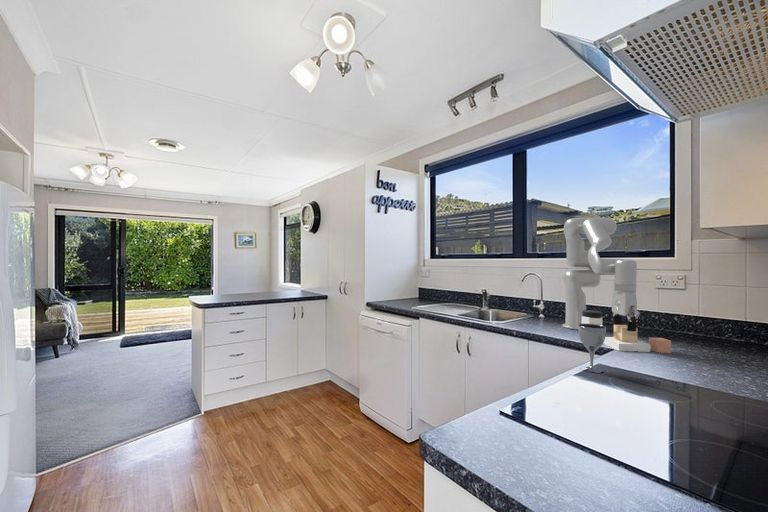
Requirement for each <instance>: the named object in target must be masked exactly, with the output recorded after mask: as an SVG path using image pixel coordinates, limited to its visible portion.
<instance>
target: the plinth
mask: <svg viewBox="0 0 768 512" xmlns="http://www.w3.org/2000/svg"><path fill="white" fill-rule="evenodd" d="M603 345H605V346H607V347H609V346H610V347H609V348H611V347H612V348H611V349H613V348H614V350H616V351H618V352H634V351H638V353H640V352H641V353H650V352H651V350H650V344H649V343H647V342H644V341H641V340H639V339H638V342H621V341H618V340H616V339H614V336H605V340H604V343H603Z"/></svg>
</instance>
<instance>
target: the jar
mask: <svg viewBox="0 0 768 512" xmlns="http://www.w3.org/2000/svg"><path fill="white" fill-rule="evenodd" d="M584 323H585V324H597V325H602V326H603V312H602V311H599V310H593V309H586V310H583V311H582V324H584Z"/></svg>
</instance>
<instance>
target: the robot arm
mask: <svg viewBox="0 0 768 512" xmlns="http://www.w3.org/2000/svg"><path fill="white" fill-rule="evenodd" d="M617 228H618V226H617V223H616V220H614V219H613V218H612V217H611V218H610V217H573V218H569V219H567V220H566V221H565V223H564V225H563V235H564V238H565V242H566V243H565V244H566V263H567V266H568V267H571V268H585V269H570V270H567V271H565V273H564V275H563V282H564V287H565V289H564V290H565V319H564V321H565V323H562V328H565V329H570V330H578V324H582V311H583V310H587V307H586V306H587V300H586V299H587V298H586V297H587V296H586V294H585V292H584V290H583V289H582V288H596V287H598V286H599V285H600V283H601V276H614V290H613V293H612V301H611V302H612V303H611V312H612V318H613V323H612V324H613V326H614V325H623V323H622V322H623V317H627V324H626V325H627V330H628V331H636V328H637V322H638V320H639V318H640V315H641V313H640V311H638V300H637V272H638V271H637V270H638V269H637V268H638V266H637V261H636V260H634V259H624V258H601V257H600V255H599V252H601V251H603V250H605V249H607V248H609V246H611V244H612V243H613V242H612V241H613V240H612V238H611V236H612V235H613V234H615V233H616V232H617ZM581 234H585V235H586V237H587V239H588V241H589V244H590V248H589V249H587V250H586V249H585V240H584V239H583V237H582V236H581ZM610 235H611V236H610Z"/></svg>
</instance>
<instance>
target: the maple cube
mask: <svg viewBox="0 0 768 512" xmlns="http://www.w3.org/2000/svg"><path fill="white" fill-rule="evenodd" d="M638 330H639V329H638V327H636V331H628V330H627V324H622V325H613V337H614V339H616V340H618V341H621V342H638V340H639V339H638V337H639V336H638Z"/></svg>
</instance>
